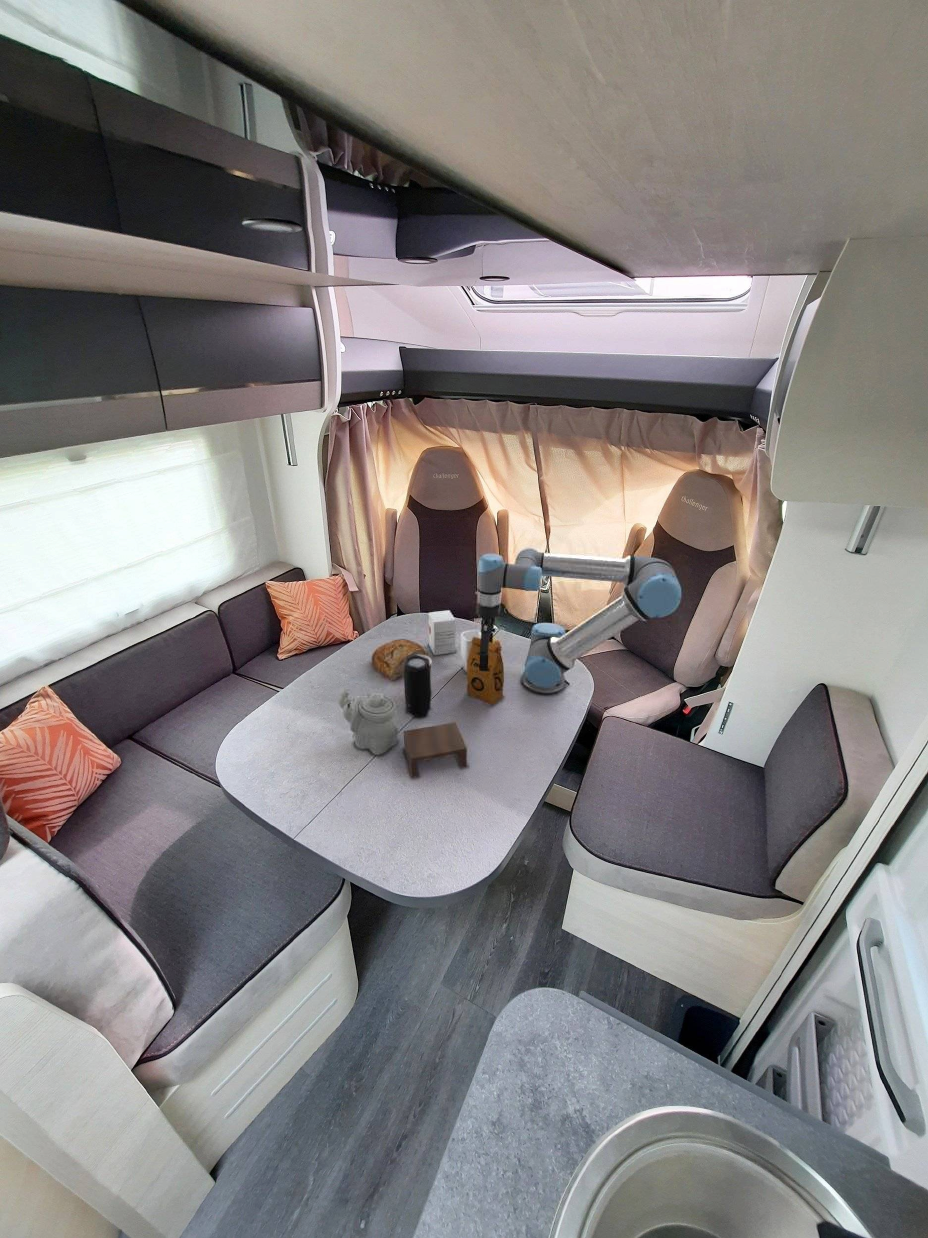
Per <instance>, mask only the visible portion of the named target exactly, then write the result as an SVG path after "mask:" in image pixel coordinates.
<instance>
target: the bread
mask: <svg viewBox="0 0 928 1238" xmlns="http://www.w3.org/2000/svg"><path fill="white" fill-rule="evenodd" d="M412 655H425V656H428V657H429V653H428V652H426V650H425V649H424V647H423V646H422V645H420V644H419V643H417V642H415V641H412V640H409V639H405V638H401V639H400V638H399V639H394V640H391V641H389V642H386V643H384V644H381V645H379V646H378V647H377V648H376V649H375V650H374V651H373V653H372V655H371V663H372V666H373V668H374V669H375V671H376V672H378V673H379V674H380V675H382V676H383V677H385V678H387V679H388V680H390V681H395V680H397V679H399V678H401V677H404V664H405V661H406V659H407V657H409V656H412Z"/></svg>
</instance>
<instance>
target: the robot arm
mask: <svg viewBox="0 0 928 1238" xmlns="http://www.w3.org/2000/svg"><path fill="white" fill-rule="evenodd" d="M543 577H552V578H553V577H555V578H564V579H574V580H575V579H577V580H588V581H600V582H611V583H620V584H621V583H622V585H624V588H623V589H622V593H621V596H620V597H618V598H617V599H615V600H614V601H612V602H610V603H609V604H607V605H606V606H605V607H604V608H602V609H600V610H599V611H597V612H595V613H594V614H593V615H592V616H590V617H589V618H587V619H586V620H584V621H583V622H581V623H580V624H578V625H577V626H575V627H574V628H572V629H571V630H569V631H568V632H566V629H565V628H564V627H563V626H561V625H559V624H556V623H552V622H539V623H536V624H534V625H533V626H532V628H531V632H530V634H531V635H530V643H529V647H528V651H527V655H526V660H525V661H524V671H523V674H522V679H521V681H522V684H523V687H525V688H526V689H527V690H529V691H530V692H532V693H535V694H539V695H555V694H558V693H560V692H562V691H563V689H564V688H565V684H566V685H567V686H570V682H569V681H567V680H566V679H565V673H567V672H568V671H570V670H572V669H573V668H574V667H575V663H576V662H575V661H576V660H578V659H579V658H581V657H583V656H584V655H586V654H587V653H589V652H590V651H592V650H594V649H595V648H596V647H598V646H600V645H602V644H603V643H604V642H607V641H608V640H609V639H611V638H612V637H614V636H616V635H617V634H619V633H620V632H622V631H624V630H625V629H627V628H628V627H630V626H632V625H633V624H635V623H636V622H639V621H643V622H647V621H649V620H650V619H653V618H664V617H667V616H669V615H670V614H671V615H672V614H673V613H674V612H675V611H676V609H678V608H679V605H680V603H681V601H682V587H681V583H680V581H679V579H678V578H677V574H676V571H675V569H674V567H673V566H672V565H671V564H670V563H669V562H667V561H666V560H663V559H660V558H657V557H652V556H651V557H650V556H642V555H641V556H639V555H627V556H626V557H623V558H622V557H609V556H608V557H607V556H596V555H582V554H580V555H579V554H569V553H568V554H567V553H554V552H553V553H552V552H541V551H538V550H537V549H535V548H533V547H525V548H523V549H521V550H520V551H519V552H518V554H517V555H516V558H515V562H514V563H507V562H504V558H503V556H502V555H500V554H496V553H486V554H482V555H481V556H479V558H478V567H477V588H476V589H477V591H475V595H476V597H477V598H476V614H477V616H479V617H481V620H480V626H481V627H480V633H481V642H480V652H478V654H479V656H480V664H479V671H486V672H488V656H489V653H488V648H489V642H491V643H493V637H494V633H496V628H495V618H497V617H499V615H500V614H501V603H502V588H503V589H512V590H520V591H525V592H538V591H539V590H541V587H542V586H541V584H542V579H543Z"/></svg>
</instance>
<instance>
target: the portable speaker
mask: <svg viewBox="0 0 928 1238" xmlns="http://www.w3.org/2000/svg"><path fill="white" fill-rule="evenodd" d="M429 664H430V663H429V660H428V659H427V658H424V657H421V656H418V655H412V656H409V657H407V659H406V661H405V664H404V675H403V687H404V688H403V689H404V690H403V691H404V701H405V709H406V713H408V714H410V715H411V716H413V717H414V718H417V719H418V718H419V719H420V718H423V717H426V716H428V715H427V714H428V713H429V712H430V710H431V701H432V700H431V699H432V685H431V681H432V679H431V676H430V667H429Z"/></svg>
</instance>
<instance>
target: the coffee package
mask: <svg viewBox="0 0 928 1238" xmlns="http://www.w3.org/2000/svg"><path fill="white" fill-rule="evenodd" d="M480 642H481V639H480V638H477V637H473V638H472V646H471V648H470V652H469V656H468V659H467V672H466V694H467V695H468V696H470V697H473V698H475V699H477V700H479V701H480V702H483V703H485V704H487V705H489V706H490V707H491V706H494V704H496V703H498V702H500V701H502V699H503V697H504V696H503V695H504V684H505V671H504V669H505V667H504V661H503V656H502V651H500V649H499V646H496V645H494V644H493V643H491V642H489V648H488V653H489V656H488V672H486V671H479V664H480V656H479V654H478V652H480Z"/></svg>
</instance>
